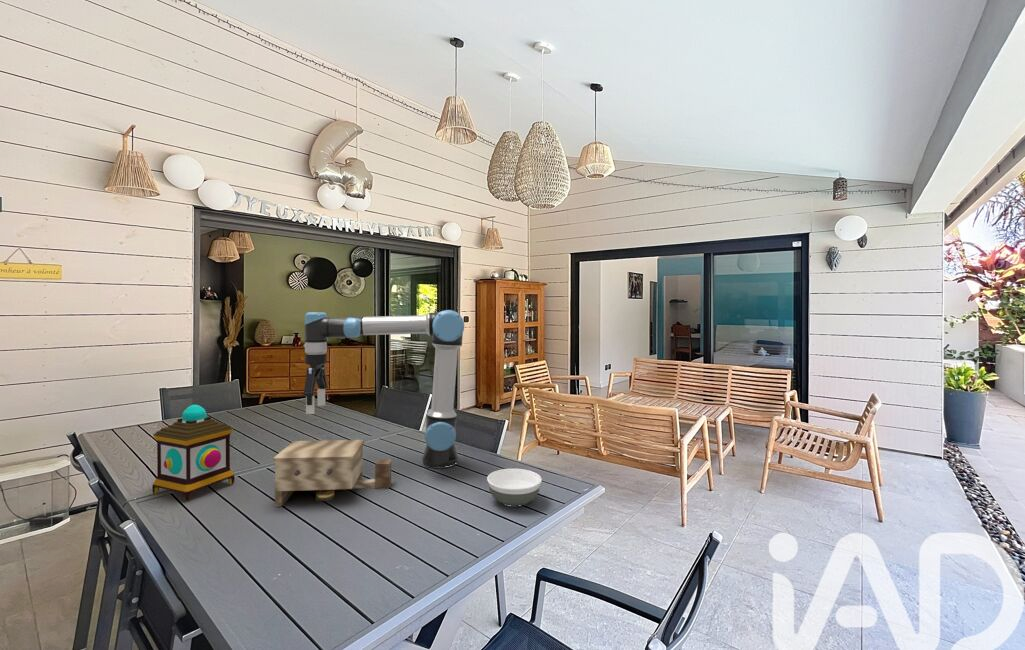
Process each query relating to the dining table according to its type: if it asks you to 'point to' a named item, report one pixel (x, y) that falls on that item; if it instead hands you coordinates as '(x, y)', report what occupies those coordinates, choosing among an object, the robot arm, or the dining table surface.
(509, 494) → the bowl
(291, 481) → the cabinet
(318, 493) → the puck
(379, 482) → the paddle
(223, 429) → the decorative lantern
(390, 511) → the dining table surface
